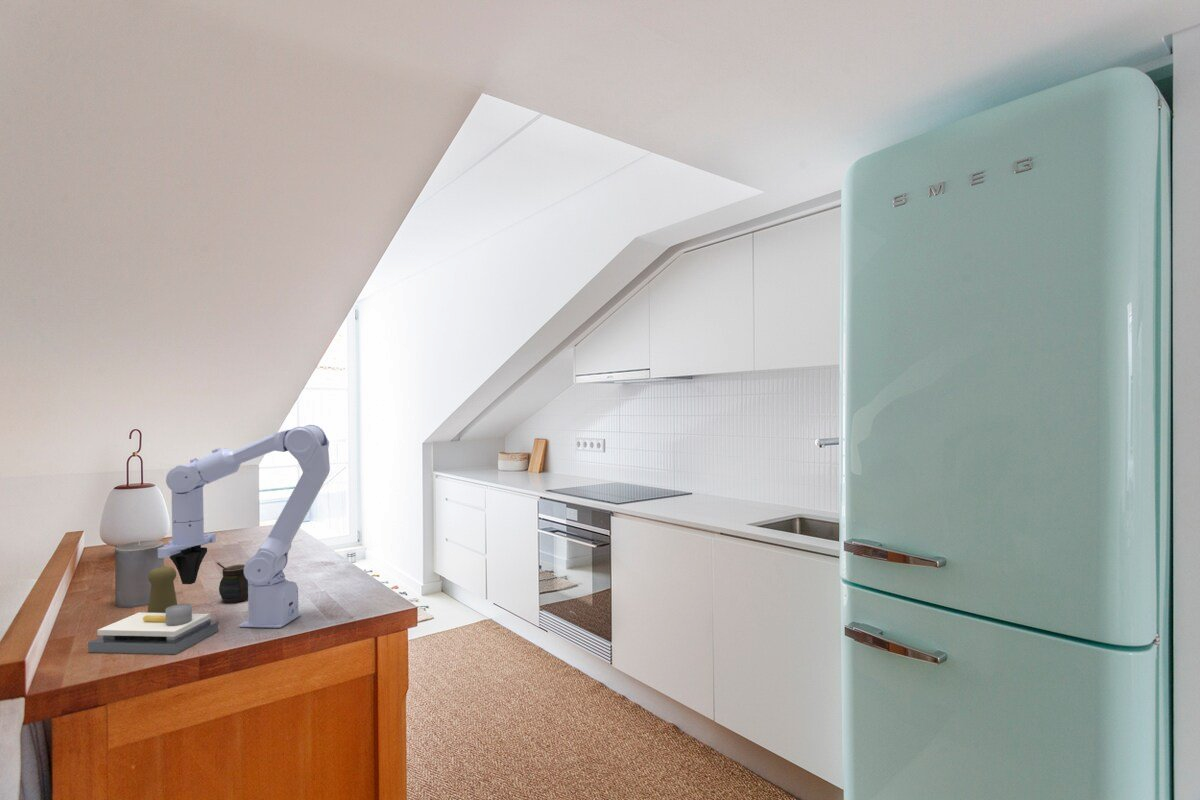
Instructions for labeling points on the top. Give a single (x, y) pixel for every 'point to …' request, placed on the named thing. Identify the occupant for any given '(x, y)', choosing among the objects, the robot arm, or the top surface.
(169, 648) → the grey rectangular base
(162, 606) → the cork
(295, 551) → the top surface
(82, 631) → the top surface
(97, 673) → the top surface
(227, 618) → the top surface
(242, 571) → the mate gourd
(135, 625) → the plate
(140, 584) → the pillar candle
